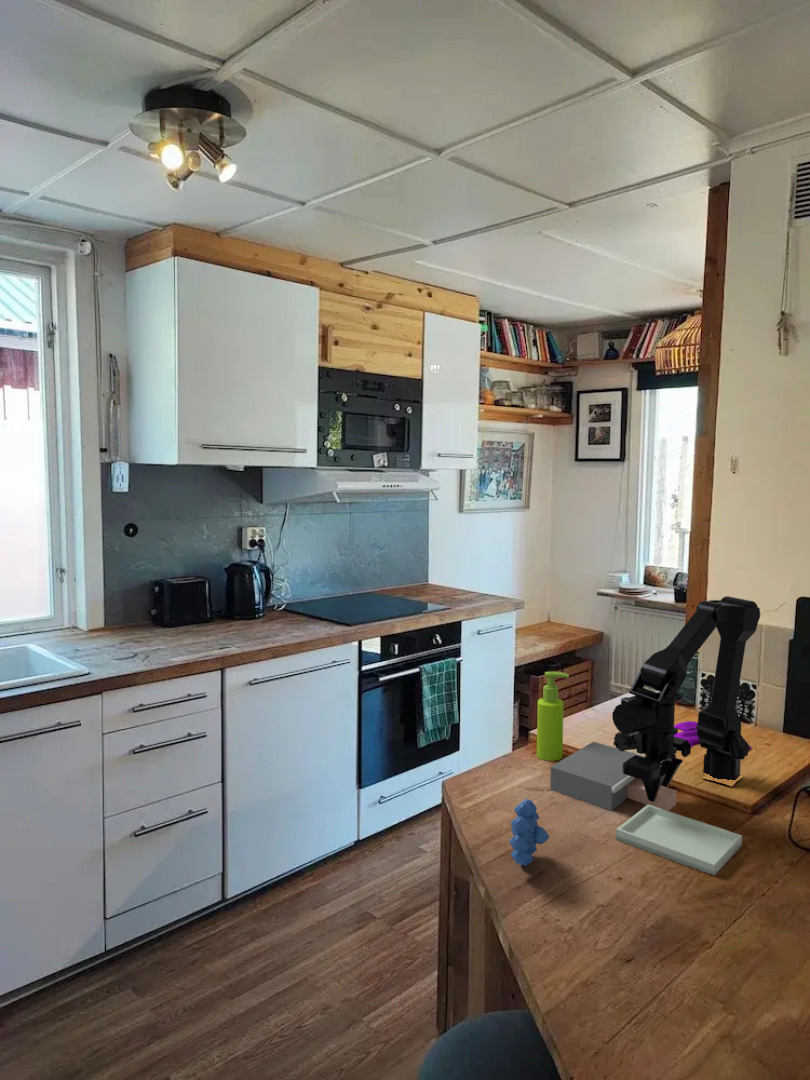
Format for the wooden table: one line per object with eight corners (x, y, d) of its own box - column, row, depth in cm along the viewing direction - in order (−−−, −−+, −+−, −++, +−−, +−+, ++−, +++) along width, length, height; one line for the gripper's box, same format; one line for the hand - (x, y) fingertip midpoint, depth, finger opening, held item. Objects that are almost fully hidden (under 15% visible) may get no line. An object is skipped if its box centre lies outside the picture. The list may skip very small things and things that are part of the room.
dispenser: (655, 781, 167) (656, 759, 166) (615, 812, 154) (615, 788, 153) (593, 762, 177) (593, 741, 176) (550, 789, 164) (550, 766, 163)
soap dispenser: (566, 762, 177) (568, 677, 175) (536, 759, 179) (537, 675, 176) (566, 752, 183) (568, 669, 180) (537, 749, 185) (538, 668, 182)
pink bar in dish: (676, 804, 157) (676, 790, 156) (667, 811, 154) (667, 797, 154) (613, 783, 166) (613, 770, 166) (603, 789, 164) (604, 776, 163)
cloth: (754, 762, 178) (756, 736, 177) (669, 750, 185) (670, 725, 184) (750, 727, 199) (751, 704, 198) (673, 718, 206) (674, 696, 205)
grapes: (542, 888, 129) (543, 819, 127) (502, 879, 131) (502, 812, 129) (555, 852, 139) (556, 789, 138) (518, 845, 142) (519, 783, 140)
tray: (741, 845, 141) (742, 835, 141) (713, 875, 132) (714, 864, 131) (647, 813, 153) (647, 804, 153) (615, 839, 144) (616, 829, 143)
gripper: (642, 702, 168) (640, 771, 170) (599, 726, 154) (597, 800, 156) (693, 714, 160) (690, 786, 162) (652, 741, 147) (649, 819, 149)
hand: (656, 797), depth 158 cm, fingers closed on pink bar in dish, 4 cm apart
